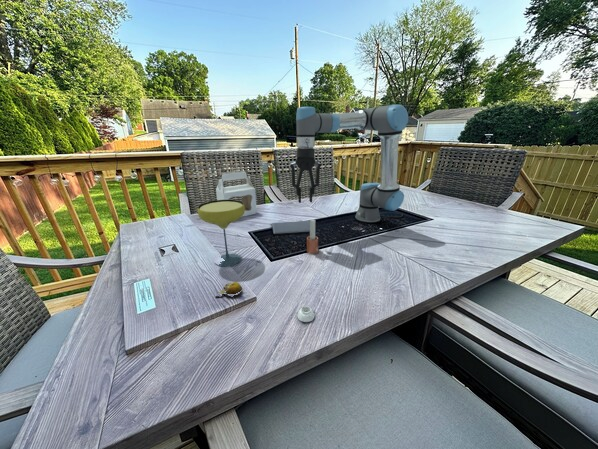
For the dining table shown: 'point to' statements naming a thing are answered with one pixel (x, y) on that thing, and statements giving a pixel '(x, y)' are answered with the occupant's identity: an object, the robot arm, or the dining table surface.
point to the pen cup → (312, 245)
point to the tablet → (291, 227)
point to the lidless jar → (305, 314)
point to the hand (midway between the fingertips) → (305, 201)
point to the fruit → (232, 289)
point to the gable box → (238, 191)
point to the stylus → (312, 229)
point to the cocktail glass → (222, 221)
